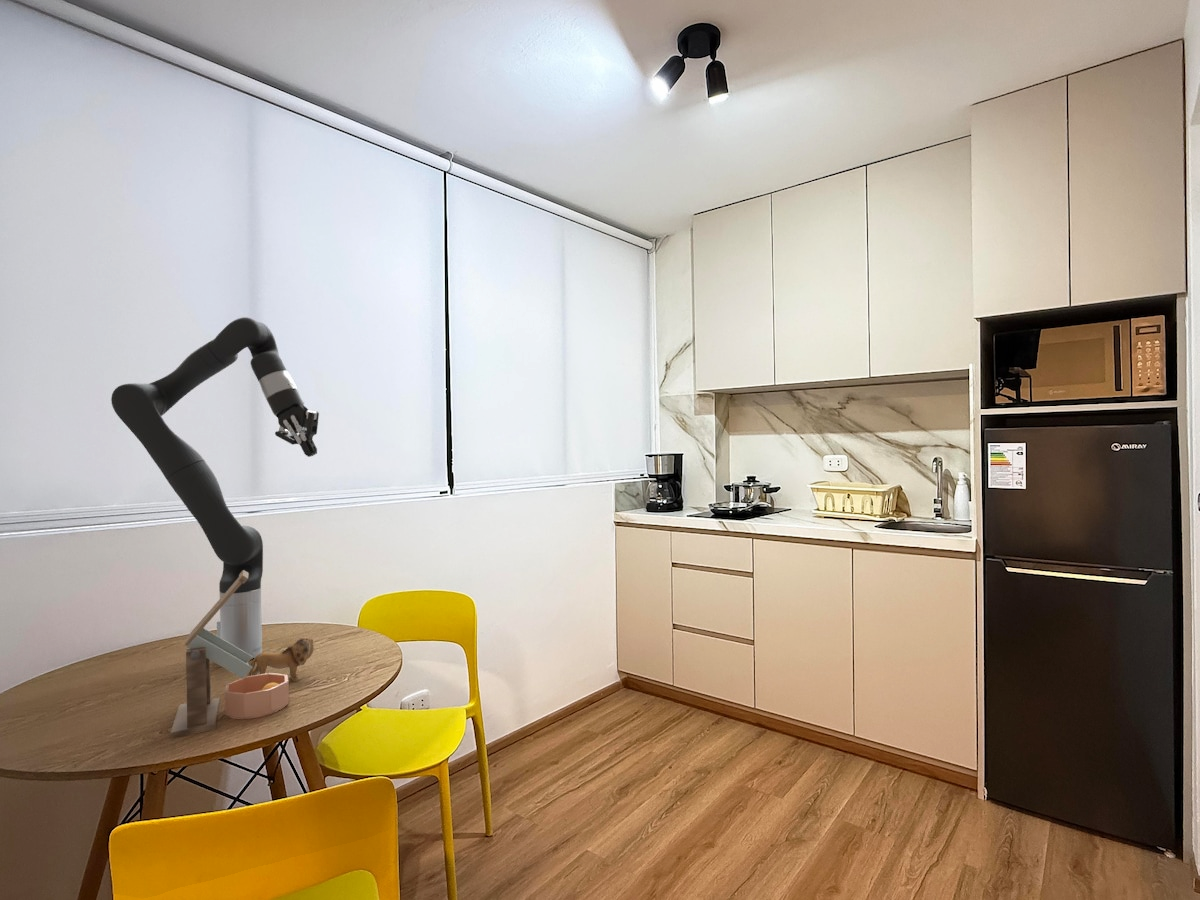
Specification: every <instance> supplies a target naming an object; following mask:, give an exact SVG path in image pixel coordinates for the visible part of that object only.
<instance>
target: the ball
mask: <svg viewBox="0 0 1200 900" xmlns="http://www.w3.org/2000/svg"><path fill="white" fill-rule="evenodd" d="M277 685H279V684H278V683H269V684H267V685H265V686H264V687H263V689H262V690H267V689H270V688H272V687H275V686H277Z"/></svg>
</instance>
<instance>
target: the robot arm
mask: <svg viewBox="0 0 1200 900" xmlns="http://www.w3.org/2000/svg"><path fill="white" fill-rule="evenodd" d="M246 348H247V349H248V350H249V352H250V354H251V357H252V358H251V360H250V366H251V370H252V371H253V373H254V376H255V378H256V380H257V382H258V383H259V387H260V389H261V392H262V393H263V396H264V397H265V400H266V401H267V403H268V405H269V408H270V409H271V411H272V413H273V415H274V416H275V417H276V418H277V423H278V425H279V428H278V430H277V431H275V433H274V434H275V436H276V437H277V438H280V439H282V440H283V441H285V442H286V443H288V444H290V445H293V446H294V445H299V446H300V447H301V450H302V452H303V453H304V455H305V456H306V457H308V458H309V457H314V456H315V455H317V454H318V448H317V446H316V444H315V442H314V440H313V437H314V436H315V435H317V434H318V427H319V426H318V425H319V417H320V413H319V411H312V410H309V408H307V406H306V405H305V401H304V400H303V397H302V396H301V394H300V391H299V390H298V387H297V386H296V383H295V382H294V380H293V378H292V376H291V375H290V373H289V372H288V369H286V366H285V364H284V363H283V359H281V356H280V354H279V349H278V347H277V343H276V339H275V336H274V333H272V331H271V329H270V328H269V327H268V325H267V324H265V323H263V322H261V321H258V320H256V319H254V318H251V317H245V316H243V317H240V318H239V317H238V318H236V319H234V320H233V321H231V322H229V323H228V324H227V325H226V326H225V327H224V328H223V329H222V330H221V331H220V332H219V333H218V334H217V335H216V336H215V337H214V338H213V339H212V340H210V341H208V342H207V343H204V345H202V346H200V347H198V348H197V349H195V350H193V351H192V352H191V353H190V354H189V355H188V356H187V357H186V358H185V359H183V361H182V362H181V363H180V364H179V365H178V366H177V367H176V369H173V371H172V372H170V373H169V374H167V375H165V376H163V377H162V378H159V379H157V380H154V381H152V382H149V383H136V382H135V383H125V384H121V385H119V386H117V387H116V388H114V390H113V392H112V394H111V399H110V401H111V405H112V406H111V407H112V408H113V411H114V413H115V414H116V415H117V417H118V418H119V420H121V421H122V422H123V424H125V426H126V427H127V428H128V429H129V430H130V432H132V434H133V436H135V437H136V438H137V440H139V442H140V443H141V444H142V446H143V447H144V449H145V450H146V452H147V453H148V455H149V456H150V457H151V459H152V460H153V462H154V463H155V464H156V465H157V466H156V467H158V469H159V470H160V472H161V473H162V475H163V476H164V478H165V480H166V481H167V483H168V484H169V485H170V486H171V488H172V489H173V491H174V492H175V493H176V495H177V496H178V498H180V500H181V501H182V503H183V505H184V506H185V507H186V509H188V512H189V513H190V514H191V515H192V516H193V518H195V520H196V521H197V523H198V525H199V527H200V528H201V529H202V531H203V533H204V534H205V536H206V538H207V540H208V542H209V544H210V547H211V548H212V549H213V550H212V551H214V554H215V555H216V556H217V558H218V559H219V560H220V561H221V562H222V565H223V568H222V575H221V577H220V579H219V584H218V585H219V586H218V587H219V590H218V591H219V599H220V598H221V597H222V596H223V595H224V594H225V593H226V591H227V590H228V589H229V588H230V587H231V586H232V585H233V583H234V582H235V581H236V580H237V579H238V578H239V574H240V573H241V572H242V571H243V570H245V571H246V572H248V573H249V574H248V579H247V581H246V582H245V583H244V584H243V583H242V584H241V585H240V586H239V587H238V589H237V590H236V591H235V592H234V593H233V594H232V595H231V597H230V598H229V599H228V600H227V601H226V602H225V604H224V605H223V606H222V607H221V608H220V609H219V620H217V622H216V635H217V636H218V637H220V638H222V639H224V640H225V641H227V642H229V643H230V644H232V645H234V646H236V647H237V648H239V649H241V650H242V651H244V652H246V653H248V654H249V655H251V656H253V657H252V659H251V660H254V659H253V658H255V657H256V656H257V655H258V654H260V653H263V634H262V633H263V632H262V631H263V629H262V627H263V625H262V623H263V622H262V588H261V587H262V585H261V584H262V577H263V571H264V570H263V569H264V568H263V567H264V561H263V560H264V547H263V546H264V542H263V539H262V535H261V534H260V532H259V531H258V530H257V529H256V528H254V527H252V526H250V525H241V524H240V522H239V521H238V520H237V519H236V517H235V516H234V515H233V514H232V512H231V511H230V509H229V507H228V506H227V504H226V501H225V499H224V496H223V492H222V488H221V487H220V484H219V481H218V480H217V477H216V476H215V473H214V472H213V471H212V469H211V468H210V466H209V465H208V463H207V462H206V461H205V459H204V457H203V456H202V455H201V454H200V453H199V452H198V451H197V450H196V449H195V448H194V447H193V446H191V445H190V444H188V443H187V442H186V441H185V440H184V439H182V438H181V437H180V436H178V434H176V433H175V432H174V431H173V430H172V429H171V428H170V427H169V425H168V424H167V422H165V420H164V418H163V417H162V416H163V415H165V414H166V413H167V412H169V410H170V409H171V408H173V406H175V405H176V404H178V402H179V401H180V400H181V399H183V397H185V396H186V395H188V394H189V393H190V392H191V391H193V390H194V389H195V388H196V387H198V386H199V385H201V384H203V383H204V382H205V381H207V380H208V379H210V378H211V377H213V376H215V375H217V374H218V373H220V372H221V371H223V370H224V369H226V368H228V367H229V366H231V365H232V364H234V363H235V362H236V361H237V360H238V358H239V353H241V351H243V350H244V349H246Z"/></svg>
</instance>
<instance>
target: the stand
mask: <svg viewBox="0 0 1200 900" xmlns="http://www.w3.org/2000/svg"><path fill="white" fill-rule="evenodd" d="M185 671H186V672H185V673H186V674H185V675H186V678H185V681H186V703H181V704H179V705H178V708H177V711H176V714H175V717H174V721H173V724H172V728H171V731H170V738H171V739H172V738H177V737H183V736H188V735H194V734H199V733H203V732H208V731H209V732H210V731H213V730H216V727H217V721H218V716H219V715H218V714H219V709H220V702H221V701H220V697H216V698H215V697H214V698H211V695H212V694H211V693H212V691H211V688H212V687H211V660H209V659H207V658H206V647H201V648H194V649H190V648H188V649H186V651H185Z"/></svg>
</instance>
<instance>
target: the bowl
mask: <svg viewBox="0 0 1200 900" xmlns="http://www.w3.org/2000/svg"><path fill="white" fill-rule="evenodd" d="M288 675H289V674H286V673H285V674H283V673H275V672H267V673H266V672H265V674H260V673H258V674H257V675H253V676H252V675H251V676H249V675H248V676H247V675H246V676H245V677H244V679H243V678H241V677H240V678H239V679H236V680H234V681H232V682H229V683H227V684H225V688H224V689H225V690H224V716H226V717H227V718H229V719H233V720H251V719H258V718H261V717H267V716H270V715H273V714H275V713H277V712H276V711H278V710H280V711H281V709H282V708H283V709H285V708H286V707H287V706H288V705H289V704H290V692H289V691H290V690H289V689H290V685H289V684H290V681H289V677H288ZM269 683H278V684H279V685H277V686H275V687H272V688H270V689H267V690H262V689H263V687H264V686H265V685H267V684H269ZM287 704H288V705H287ZM286 705H287V706H286ZM285 706H286V707H285ZM284 707H285V708H284ZM283 709H282V710H283ZM274 712H275V713H274ZM278 712H279V711H278ZM272 713H273V714H272ZM266 715H267V716H266Z"/></svg>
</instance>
